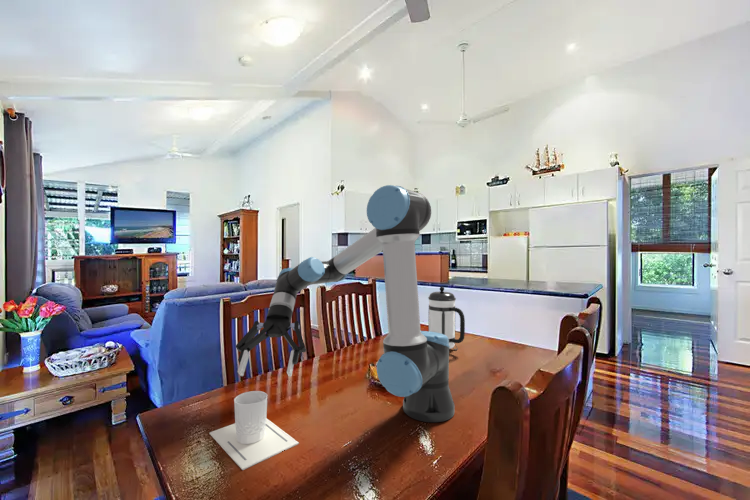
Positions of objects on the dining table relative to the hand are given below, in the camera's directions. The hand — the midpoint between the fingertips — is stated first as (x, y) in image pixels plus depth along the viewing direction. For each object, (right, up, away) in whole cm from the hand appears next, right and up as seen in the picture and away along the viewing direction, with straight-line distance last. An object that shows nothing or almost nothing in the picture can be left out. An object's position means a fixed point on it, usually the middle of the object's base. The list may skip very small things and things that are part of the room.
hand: (264, 374), depth 93 cm
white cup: (-1, -13, -8) cm, 15 cm away
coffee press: (+63, -13, +67) cm, 93 cm away
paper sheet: (0, -13, -8) cm, 16 cm away
